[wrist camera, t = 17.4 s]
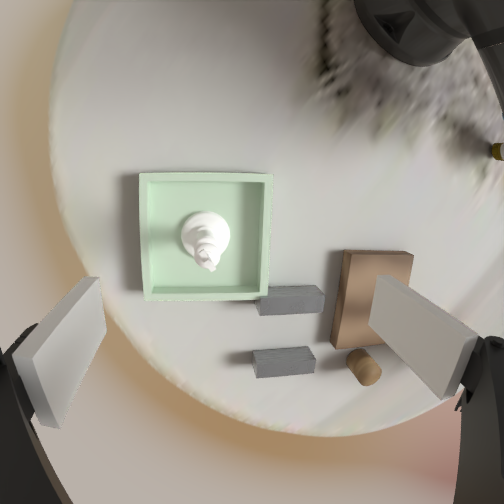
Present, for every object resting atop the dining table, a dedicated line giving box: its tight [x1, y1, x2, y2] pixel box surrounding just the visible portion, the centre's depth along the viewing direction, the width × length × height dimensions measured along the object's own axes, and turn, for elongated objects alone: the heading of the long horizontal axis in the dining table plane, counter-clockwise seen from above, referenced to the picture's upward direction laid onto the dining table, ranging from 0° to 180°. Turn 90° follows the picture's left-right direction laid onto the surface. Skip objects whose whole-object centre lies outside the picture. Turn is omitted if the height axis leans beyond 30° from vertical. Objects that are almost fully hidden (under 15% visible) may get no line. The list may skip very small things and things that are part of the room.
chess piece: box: [181, 211, 230, 272], centre depth 27 cm, size 5×5×10 cm
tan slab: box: [330, 250, 414, 350], centre depth 36 cm, size 12×9×2 cm
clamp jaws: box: [252, 285, 325, 378], centre depth 35 cm, size 10×7×3 cm
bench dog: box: [346, 349, 382, 386], centre depth 37 cm, size 3×3×4 cm
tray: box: [139, 172, 274, 301], centre depth 31 cm, size 13×13×2 cm
